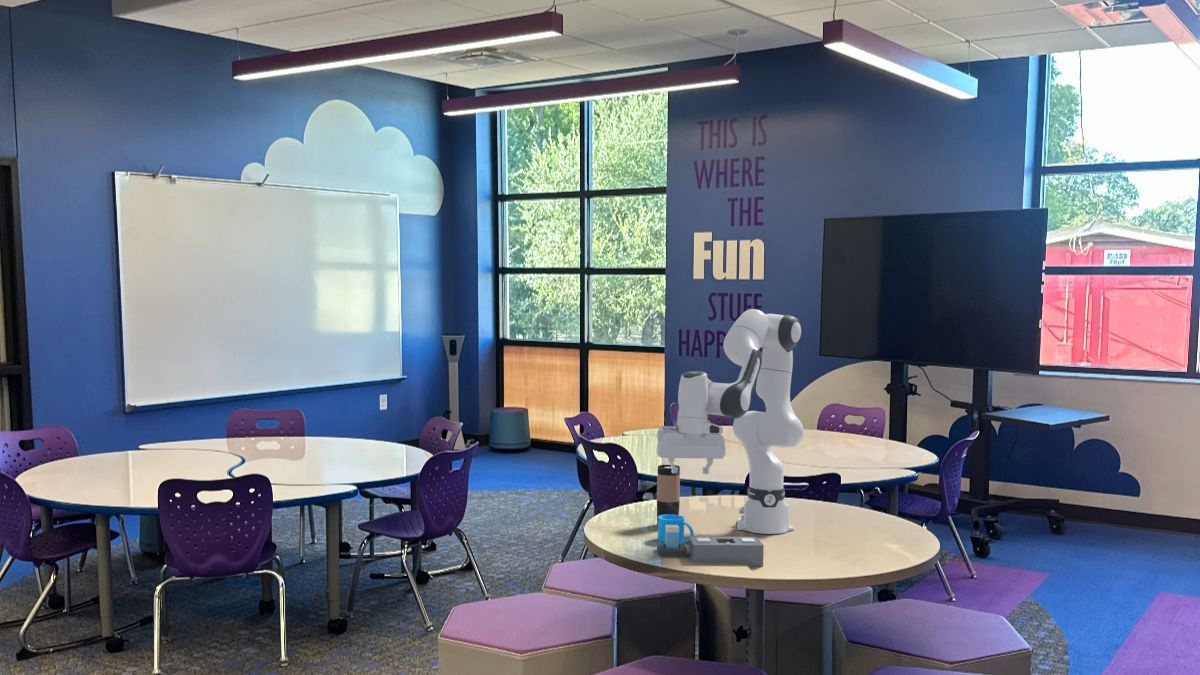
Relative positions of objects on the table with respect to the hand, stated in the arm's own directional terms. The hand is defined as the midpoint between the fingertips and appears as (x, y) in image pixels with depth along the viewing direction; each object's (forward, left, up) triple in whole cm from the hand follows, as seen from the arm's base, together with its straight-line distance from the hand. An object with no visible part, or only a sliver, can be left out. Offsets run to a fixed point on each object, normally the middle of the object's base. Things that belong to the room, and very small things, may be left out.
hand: (690, 473), depth 284 cm
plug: (0, -5, -24) cm, 24 cm away
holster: (0, -5, -25) cm, 25 cm away
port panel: (+5, +10, -25) cm, 27 cm away
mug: (-15, -2, -25) cm, 29 cm away
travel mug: (-40, -2, -25) cm, 47 cm away
